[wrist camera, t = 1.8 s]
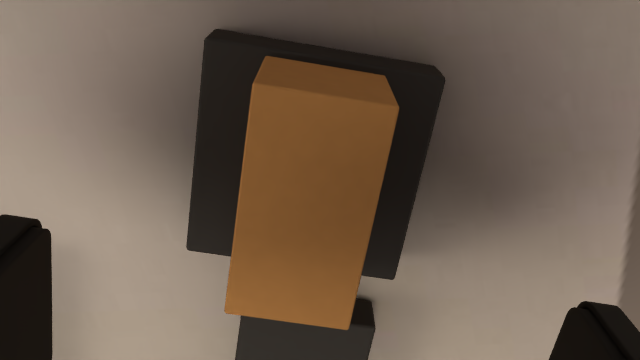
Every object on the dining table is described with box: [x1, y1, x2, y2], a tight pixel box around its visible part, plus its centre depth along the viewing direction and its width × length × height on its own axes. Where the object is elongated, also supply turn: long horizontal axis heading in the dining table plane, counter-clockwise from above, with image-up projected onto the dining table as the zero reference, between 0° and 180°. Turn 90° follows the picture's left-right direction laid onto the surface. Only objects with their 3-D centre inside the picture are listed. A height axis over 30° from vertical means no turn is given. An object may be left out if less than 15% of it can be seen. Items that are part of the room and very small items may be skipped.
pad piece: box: [187, 29, 445, 330], centre depth 15 cm, size 6×6×4 cm
